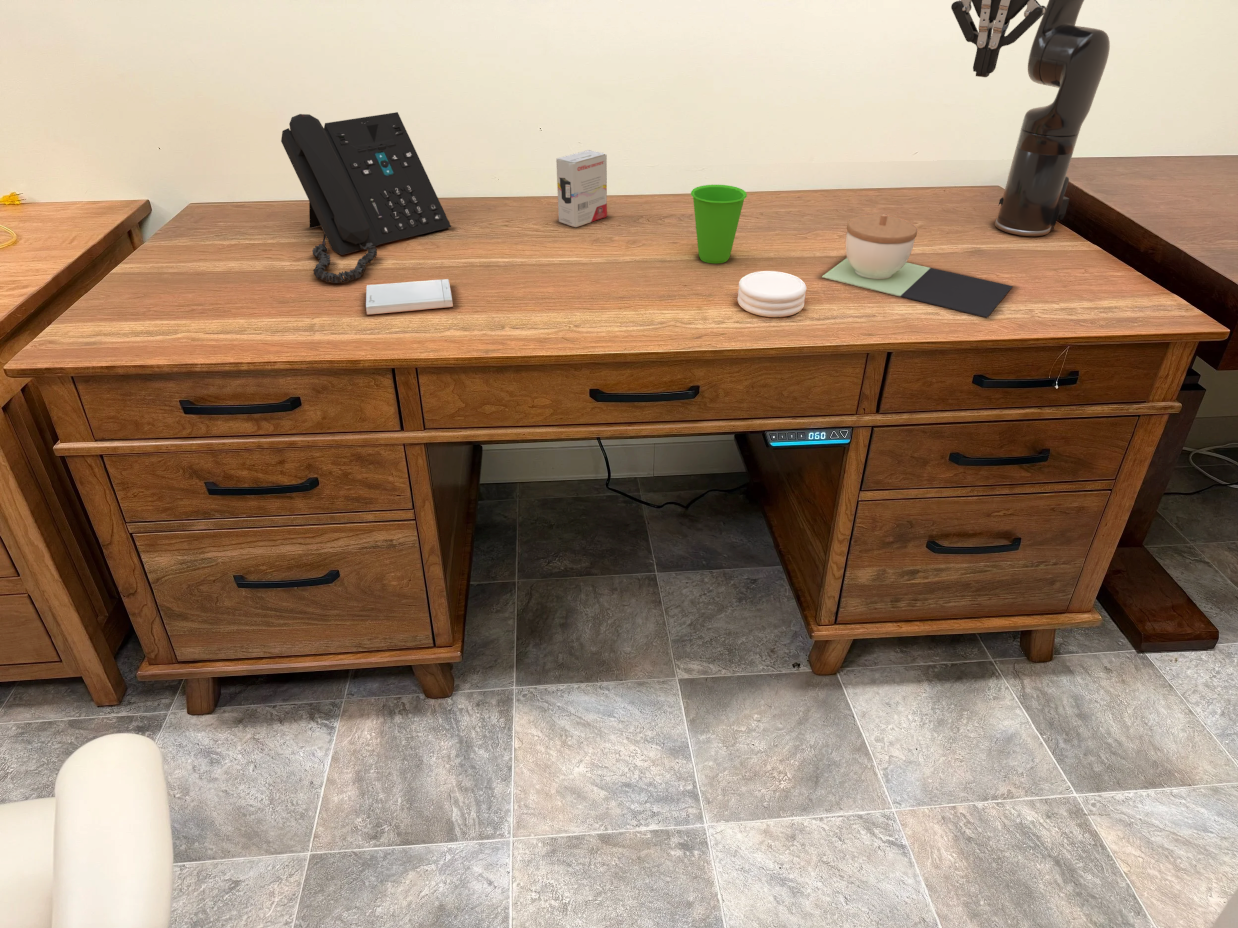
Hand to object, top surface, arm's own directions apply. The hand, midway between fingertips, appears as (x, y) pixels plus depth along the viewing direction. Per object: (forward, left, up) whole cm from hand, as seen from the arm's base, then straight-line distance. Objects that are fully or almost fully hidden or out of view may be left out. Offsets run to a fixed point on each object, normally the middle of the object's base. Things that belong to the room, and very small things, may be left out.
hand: (982, 76), depth 122 cm
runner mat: (+8, +5, -29) cm, 30 cm away
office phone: (+88, -41, -29) cm, 101 cm away
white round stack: (+34, +5, -29) cm, 45 cm away
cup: (+34, -15, -29) cm, 47 cm away
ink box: (+49, -41, -29) cm, 70 cm away
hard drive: (+85, -14, -29) cm, 91 cm away
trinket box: (+12, 0, -29) cm, 32 cm away
